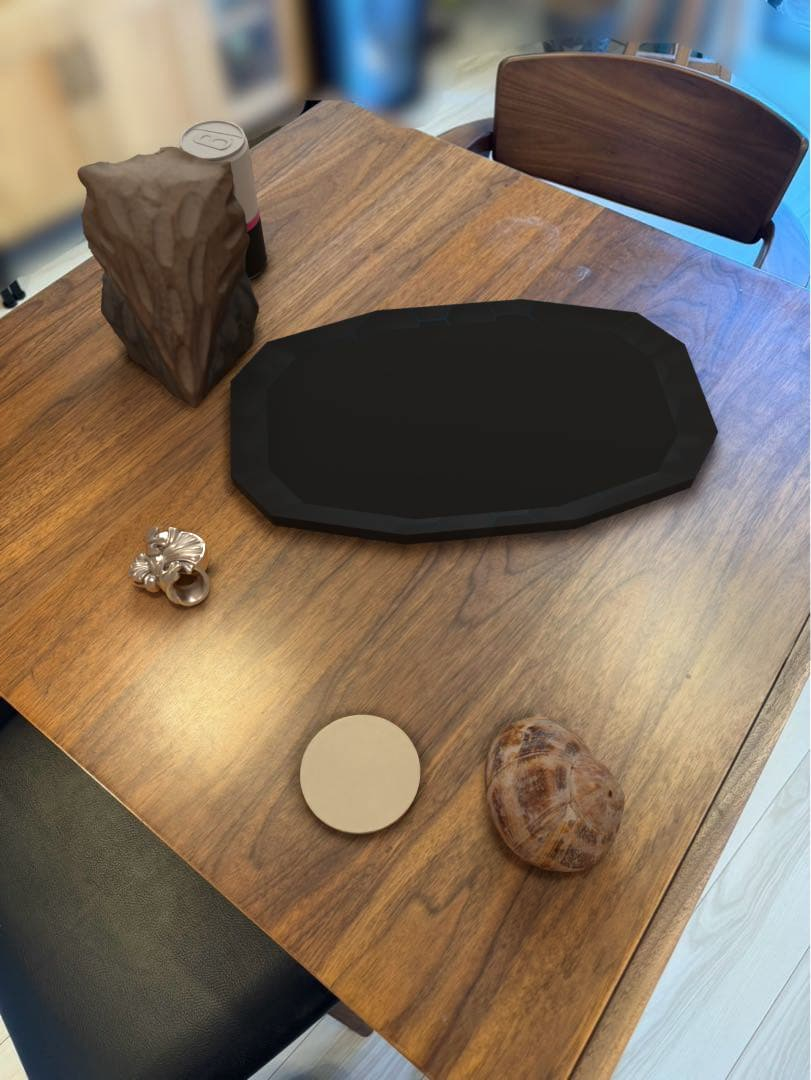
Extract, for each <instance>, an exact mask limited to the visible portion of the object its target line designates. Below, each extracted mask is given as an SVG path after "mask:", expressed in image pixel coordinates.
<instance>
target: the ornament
mask: <svg viewBox="0 0 811 1080" xmlns="http://www.w3.org/2000/svg"><path fill="white" fill-rule="evenodd" d="M143 543H144V545H145V551H146V552H144V551H141V552H140V551H139V553H138V554H137V555H136V556H135V558H134V562H132V563H131V564H130V566H129V569H128V572H127V579H128V581H129V582H130V583H131V585H133V586H135V587H137V588H144V589H145V590H146V591H147V592H151V593H157V592H160V590H162V591H163V592H164V593H165V595H166V596H167V598H168V599H169V601H171V602H172V603H173V604H177V605H179V604H180V605H181V606H183V607H193V606H195V605H198V604H200V603H201V602H202V601H203V600H205V598H206V597H207V596H208V594H209V592H210V588H211V583H210V577H209V575H208V574H207V572H206V570H207V568H208V566H209V563H210V552H209V548H208V546H207V544H206V543H205V541H204V540H203V538H201V537H200V536H199V535H197V534H195V533H193V532H190V531H189V532H188V531H187V528H185V527H180V528H175V527H174V526H172V525H171V526H168V527H167V529H166V531H161V532H160V527H158V526H156V525H154V526H151V527H150V528H149V529H148V530H147V532H146V533H145V535H144V536H143ZM181 575H190V576H194V577H196V579H195V580H194V581H193V582H192V583H191V584H188V585H179V584H175V582H177V581H178V580H179V579H180V576H181Z"/></svg>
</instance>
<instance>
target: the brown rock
mask: <svg viewBox="0 0 811 1080" xmlns="http://www.w3.org/2000/svg"><path fill="white" fill-rule="evenodd" d="M76 173H77V178H78V180H79V181H80V183H81V185H82V186H83V187H84V188H85V191H86V194H85V195H86V196H85V201H84V206H83V208H82V212H81V213H80V216H81V220H82V222H81V223H82V224H81V225H82V233H83V236H84V237H85V239H86V241H87V248H88V249H89V250H90V253H91V254H92V256H93V257H94V259H95V260H96V261H97V262H98V264H99V266H100V267H101V268H102V269H103V271H104V273H102V274H101V283H102V287H101V296H100V311H101V314H102V316H103V317H104V319H105V320H106V322H107V323H108V324H109V326H110V328H111V329H112V331H113V332H114V334H115V335H116V336H117V337H118V339H119V340H120V341H121V343H122V344H123V346H124V347H125V349H126V352H127V355H128V357H129V358H130V359H131V360H132V361H133V362H135V363H136V364H138V365H140V366H142V367H144V368H145V371H146V373H147V374H148V375H149V376H152V377H155V378H156V379H157V381H158V382H160V383H162V384H163V385H165V388H166V390H167V391H168V392H169V393H170V394H171V395H173V396H175V397H177V398H179V399H181V400H183V402H185V403H186V404H187V405H189V406H191V407H192V408H194V409H196V408H198V407H199V406H200V405H201V403H202V402H203V400H205V398H206V397H208V395H209V394H210V392H211V391H212V390H213V388H214V387H216V386H217V385H219V383H220V382H221V380H222V379H223V377H224V376H225V374H226V373H227V372H228V371H229V370H232V369H233V368H234V367H235V366H236V364H237V361H238V359H239V357H240V356H241V355H242V354H244V353H245V352H247V351H248V350H249V349H250V348H251V347H252V345H253V343H254V338H255V332H254V331H255V330H254V329H255V326H256V322H257V318H258V315H259V313H260V305H259V302H258V301H257V298H256V295H255V293H254V289H253V286H252V282H251V279H249V278H248V276H247V274H246V271H245V256H246V251H247V248H248V246H249V243H250V238H249V236H248V234H247V223H246V216H245V213H244V210H243V208H242V206H241V205H240V203H239V202H238V201H237V199H236V196H235V194H234V192H233V189H234V182H233V173H232V170H231V162H228V161H220V162H211V161H209V160H206V159H204V158H201V157H198V156H195V155H193V154H190V153H188V152H186V151H184V150H182V149H180V148H179V147H177V146H162V147H160V148H159V150H158V151H156V152H153V153H149V154H141V153H138V154H136V155H134V156H132V157H130V158H128V159H126V160H122V161H118V162H114V163H112V162H109V161H97V162H94V163H91V164H87V165H84V166H80V167H79V168H78V170H77V172H76Z"/></svg>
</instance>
